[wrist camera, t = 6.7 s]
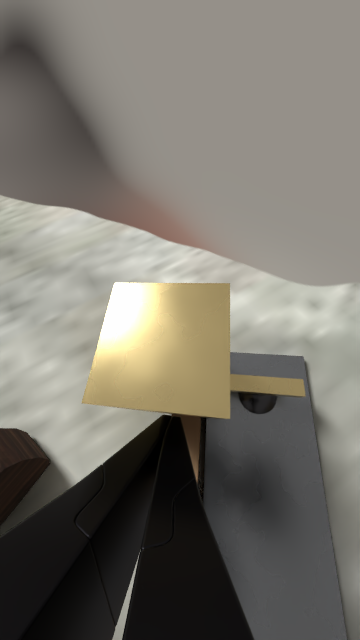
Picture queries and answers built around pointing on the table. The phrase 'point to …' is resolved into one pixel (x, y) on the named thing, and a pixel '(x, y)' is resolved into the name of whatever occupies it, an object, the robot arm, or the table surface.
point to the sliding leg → (172, 352)
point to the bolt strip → (273, 508)
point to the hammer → (18, 468)
